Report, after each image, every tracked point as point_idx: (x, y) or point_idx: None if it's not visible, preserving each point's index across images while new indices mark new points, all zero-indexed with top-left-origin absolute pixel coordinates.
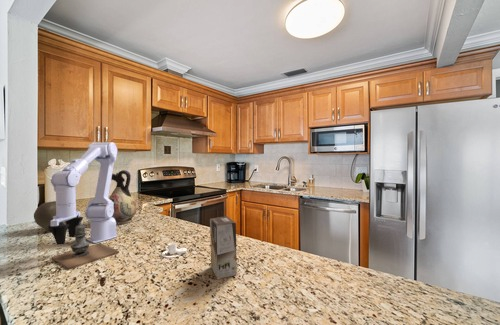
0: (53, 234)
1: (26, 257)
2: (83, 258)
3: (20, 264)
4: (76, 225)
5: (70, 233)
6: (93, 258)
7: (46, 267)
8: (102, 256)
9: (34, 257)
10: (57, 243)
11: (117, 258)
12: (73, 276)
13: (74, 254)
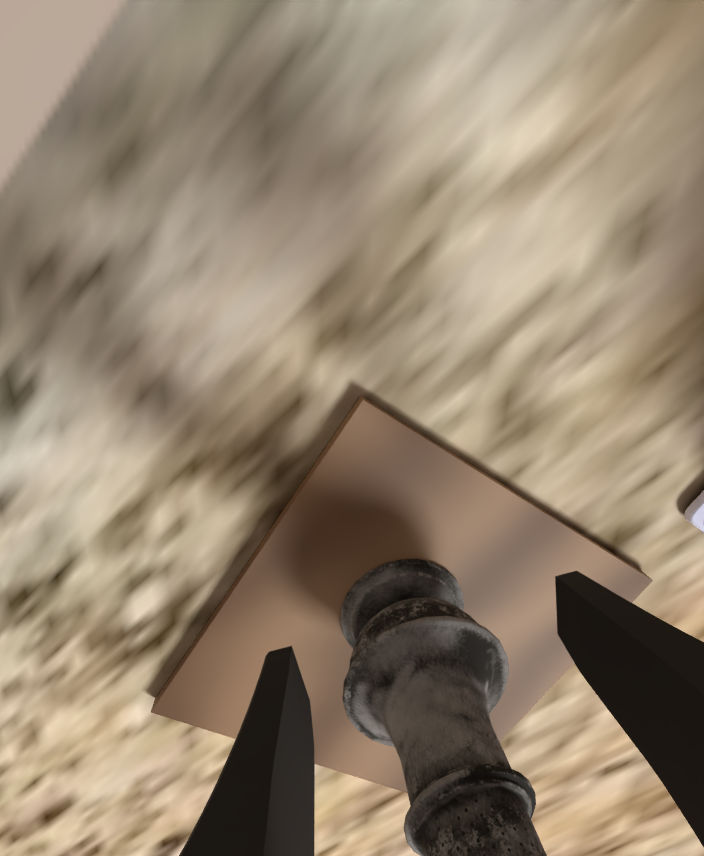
0: (195, 837)
1: (401, 33)
2: (320, 686)
3: (206, 171)
4: (700, 827)
5: (591, 628)
6: (318, 746)
7: (172, 515)
8: (353, 773)
9: (395, 158)
10: (263, 674)
11: (346, 830)
12: (74, 789)
13: (375, 597)
